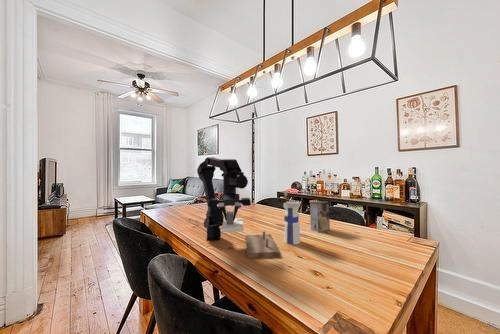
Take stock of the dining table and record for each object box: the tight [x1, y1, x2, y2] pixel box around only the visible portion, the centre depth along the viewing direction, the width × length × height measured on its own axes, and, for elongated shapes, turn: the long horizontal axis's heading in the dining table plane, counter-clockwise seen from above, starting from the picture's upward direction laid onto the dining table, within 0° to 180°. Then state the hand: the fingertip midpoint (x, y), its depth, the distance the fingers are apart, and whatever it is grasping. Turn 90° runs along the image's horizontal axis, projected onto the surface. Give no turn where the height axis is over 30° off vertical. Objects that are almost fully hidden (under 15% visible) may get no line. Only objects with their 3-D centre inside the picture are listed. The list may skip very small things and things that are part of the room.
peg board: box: [244, 230, 281, 259], centre depth 99 cm, size 13×22×6 cm, turn 4°
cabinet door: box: [221, 210, 244, 233], centre depth 98 cm, size 9×16×6 cm, turn 4°
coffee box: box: [309, 200, 331, 233], centre depth 123 cm, size 9×6×16 cm
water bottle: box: [283, 190, 301, 246], centre depth 105 cm, size 8×9×25 cm
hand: (230, 220), depth 98 cm, fingers closed on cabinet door, 3 cm apart
